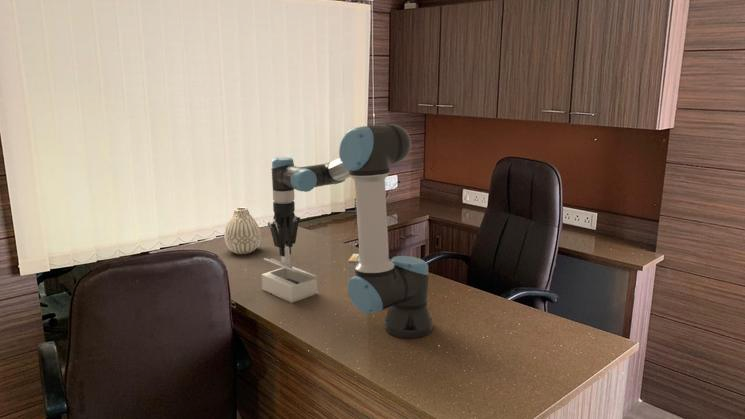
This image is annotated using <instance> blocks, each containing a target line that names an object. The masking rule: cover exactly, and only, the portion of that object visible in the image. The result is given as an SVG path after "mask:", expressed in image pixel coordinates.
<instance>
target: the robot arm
mask: <svg viewBox="0 0 745 419" xmlns="http://www.w3.org/2000/svg"><path fill="white" fill-rule="evenodd" d="M411 150H412V140H411V137H410V134H409V133H408V131H406V129H405V128H403V127H402V126H401V125H397V124H394V123H393V124H391V123H390V124H379V125H362V126H359V127H358V126H357V127H352V128H351V129H347V131H346V132H345V133H344V135H343V136H342V137H341V139H340V141H339V147H338V155H339V156H338V157H337V158H336V159H333V160H331V161H329V162H326V163H322V164H321V163H320V164H315V165H307V166H296V165H295V163H294V159H293V158H292V157H288V156H277V157H274V158H273V159H272V160H271V179H272V180H271V182H272V183H271V184H272V185H271V186H272V200H273V203H272V211H273V213H274V214H273V220H271V221H269V222H268V223H267V226H268V227H269V228H270V233H271V236H272V242H273V245H274V247H277V248H279V256H280V257H281V258H280V262H283V263H285V264H288V265H290V264H291V257H290V256H291V254H292V247H293V246H294V245H295V244H296V240H297V235H298V228H299V224H300V221H301V217H299V216H296V214H295V212H296V211H295V210H296V209H295V208H296V207H295V205H296V203H295V201H294V200H295V190H296V191H299V192H306V193H307V192H311V191H312V190H313V189H315V188H319V187H324V186H330V185H337V184H341V183H344V182H345V181H346V179H348V178H351V179H353V180H354V187H355V189H354V191H355V204H356V221H357V222H356V223H357V236H358V254H359V256H360V261H359V263H358V264H357V265H356V266H355V275H356V276H354V277H352V278H351V279H350V281H349V283H348V282H347V293H348V292H349V298H350V300H351V302H352V303H353V304H354V306H355V307H356V308H357V309H358V311H360V312H362V313H364V314H367V315H369V314H373V313H379V312H381V311H383V310H386V309H388V310H387V314H386V316H385V320H384V329H385V331H386V332H387V333H388V334H390V335H392V336H394V337H397V338H402V339H419V338H423V337H425V336H428V335H430V333H431V332H432V331H433V319H432V317H431V315H430V312H429V311H430V310H429V307H428V296H429V295H428V293H429V276H430V275H429V265H428V262H426V261H425V260H424V259H422V258H418V257H415V256H411V255H410V256H409V255H398V256H397V255H396V256H393V257H391V259H390V256H389V255H390V254H389V253H390V252H389V238H388V236H389V234H388V232H389V231H388V215H387V196H386V195H387V194H386V178H387V177H388V176H389V175H391V174H390V173H391V172H390V170H391V169H390V165H395V164H398V163H401V162H403V161H405V160H406V159H407V157H409V154H410V152H411Z"/></svg>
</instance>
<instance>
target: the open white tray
mask: <svg viewBox="0 0 745 419" xmlns="http://www.w3.org/2000/svg"><path fill="white" fill-rule="evenodd" d="M288 278H290V279H292V280H295V281H297V282H299V284H295V283H293V282H290V281H288V280H285V279H288ZM317 281H318V277H317V278H316V277H312V276H308V275H305V274H301V273H298V272H294V271H291V270H289V269H286V268H284V267H281V268H277V269H274V270H271V271H267V272H265V273H261V286H262V287H261V289H262V290H263V291H265V292H267V293H269V294H271V293H272V294H271V295H274V296H276V297H278V298H280V299H282V300H284V301H287V302H289V303H291V304H294V303H296V302H299V301H302V300H304V299H307V298H309V297H312V296H315V295H318V294H319V291H318V282H317Z"/></svg>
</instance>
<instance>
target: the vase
mask: <svg viewBox="0 0 745 419" xmlns="http://www.w3.org/2000/svg"><path fill="white" fill-rule="evenodd" d="M261 233H262V232H261V229H260V227H259V224H258V222H257V221H256V219H254V217H253V215H251V214H250V211H249V209H248V207H244V206H243V207H242V206H240V207H238V206H237V207H235V208H234V210H233V214H232V216H231V218H230V219H229V221H228V222H227V224H226V226H225V228H224V236H223V237H224V243H225V244H226V247H227V248H228V249H229V250H230V251H231V252H232V253H234V254H236V255H248V254H251V253H253V252H254V251H255V250H256V249H257V248H258V247H259V245H260V243H261V240H262V239H261V238H262V234H261Z"/></svg>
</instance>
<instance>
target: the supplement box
mask: <svg viewBox="0 0 745 419" xmlns="http://www.w3.org/2000/svg"><path fill="white" fill-rule="evenodd" d="M359 261H360V256H359V253H352V255H350V257H349V259H348V260H347V284H348V283H349V281H350V279H351V278H352V277H354V276H356V275H355V266H356V265H357V264H358V263H359ZM347 294H349V292H348V291H347Z"/></svg>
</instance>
